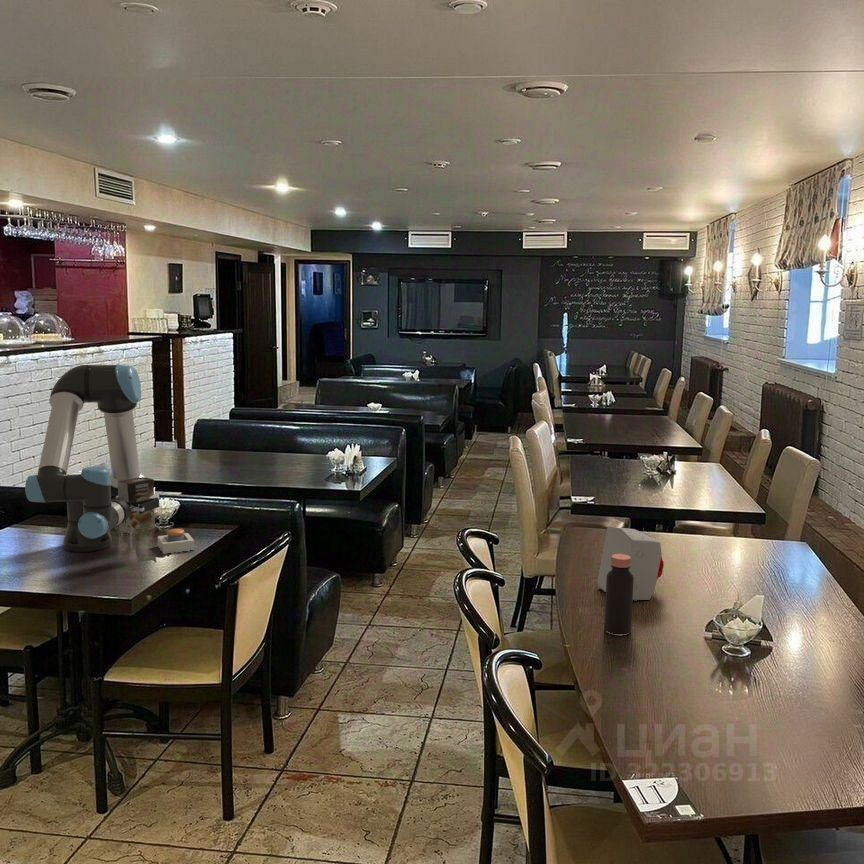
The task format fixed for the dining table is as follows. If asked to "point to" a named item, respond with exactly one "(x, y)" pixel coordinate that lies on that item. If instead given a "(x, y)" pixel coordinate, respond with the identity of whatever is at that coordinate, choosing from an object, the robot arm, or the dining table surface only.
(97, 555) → the dining table surface
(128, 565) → the dining table surface
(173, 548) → the breaker housing
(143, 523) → the coffee box
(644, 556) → the electrical switch box
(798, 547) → the dining table surface
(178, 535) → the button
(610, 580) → the bottle
